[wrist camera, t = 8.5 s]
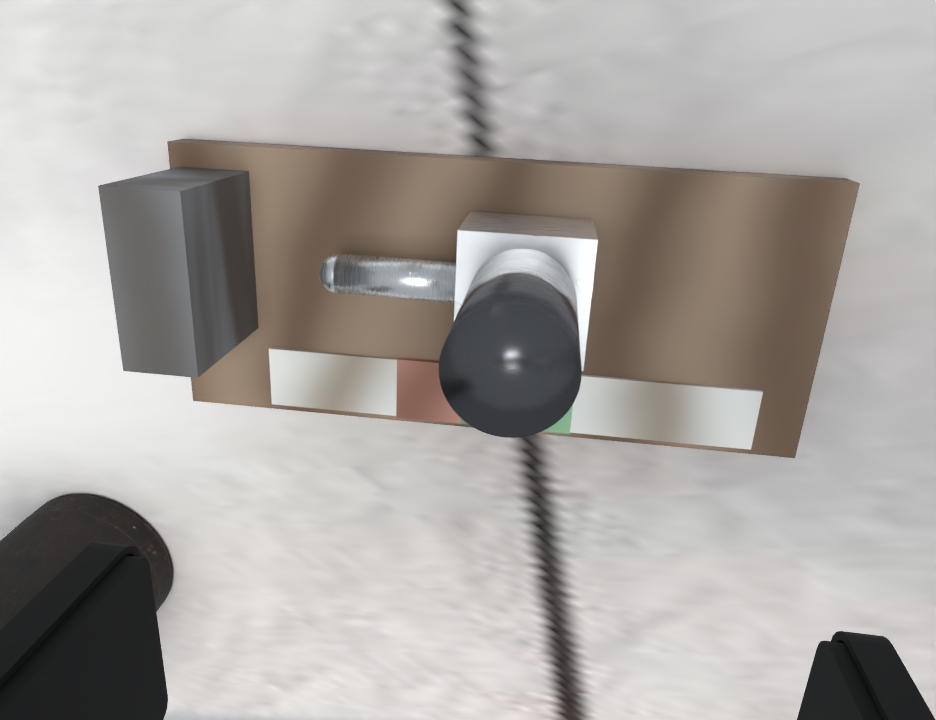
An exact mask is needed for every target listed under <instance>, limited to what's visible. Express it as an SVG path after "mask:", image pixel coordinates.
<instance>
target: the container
mask: <svg viewBox="0 0 936 720" xmlns="http://www.w3.org/2000/svg"><path fill="white" fill-rule="evenodd" d="M97 541H99V542H107V543H115V544H124V545H132V546H134V547H136V548H137V549H138V550H139V552H140V556H141V557H144V558H146V559H147V560H148V561H149V565H150V570H151V578H152V585H153V592H154V600H155V607H156V611H157V610H158V609H159V607H160V606H161V605H162V603H163V602H164V600H165V599H166V597H167V596H168V594H169V591H170V588H171V584H172V567H171V562H170V559H169V556H168V553H167V551H166V549H165V547H164V545H163V543H162V542H161V540H160V538H159V537H158V536H157V534H156V533H155V532H154V531H153V530H152V528H151V527H150V526H149V525H148V524H147V523H145V522H144V521H143V520H142V519H141V518H139V517H138V516H137V515H135V514H134V513H133V512H131V511H129V510H128V509H126V508H124V507H123V506H121V505H119V504H117V503H114V502H112V501H109V500H106V499H103V498H100V497H95V496H90V495H68V496H62V497H58V498H55V499H53V500H51V501H49V502H47V503H46V504H44V505H43V506H41V507H40V508H39V509H38V510H36V511H35V512H34V513H33V514H31V515H30V516H29V517H28V518H26V519H25V520H24V521H23V522H22V523H20V524H19V525H18V526H17V527H16V528H15V529H14V530H12V531H11V532H10V533H9V534H8V535H7V536H6V537H4V538H3V539H2V540H1V541H0V630H1V629H2V628H3V627H4V626H5V625H6V624H7V623H8V622H9V621H10V620H11V619H12V618H13V617H14V616H15V615H16V614H17V613H18V612H19V611H20V610H22V609H23V608H24V607H25V606H26V605H27V604H28V603H29V602H30V601H31V600H32V599H33V598H34V597H35V596H36V595H37V594H38V593H39V592H40V591H41V590H42V589H43V588H44V587H45V586H46V585H47V584H48V583H49V582H50V581H51V580H52V579H53V578H54V577H55V576H57V575H58V574H59V573H60V572H61V571H62V570H63V569H64V568H65V567H66V566H67V565H68V564H69V563H70V562H71V561H72V560H73V559H74V558H75V557H76V556H77V555H78V554H79V553H80V552H81V551H82V550H83V549H84V548H85V547H87V546H88V545H89V544H91V543H92V542H97Z"/></svg>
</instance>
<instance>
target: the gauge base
mask: <svg viewBox="0 0 936 720" xmlns="http://www.w3.org/2000/svg"><path fill="white" fill-rule="evenodd" d="M168 152H169V162H170V169H169V170H165V171H160V172H156V173H152V174H147V175H143V176H139V177H134V178H130V179H126V180H121V181H117V182H113V183H108V184H104V185H100V186H98V187H99V194H100V202H101V209H102V216H103V224H104V231H105V239H106V246H107V253H108V261H109V268H110V275H111V283H112V290H113V298H114V305H115V312H116V320H117V327H118V334H119V342H120V349H121V356H122V364H123V371H131V372H142V373H153V374H164V375H175V376H185V377H191V382H192V392H193V401H203V402H213V403H224V404H234V405H245V406H255V407H266V408H276V409H287V410H297V411H308V412H318V413H328V414H339V415H349V416H360V417H370V418H381V419H391V420H402V421H412V422H423V423H433V424H444V425H454V426H465V427H472V426H471V425H469V424H468V423H466V422H465V421H464V420H463V419H462V418H460V417H459V416H458V415H457V414H456V412H455V411H454V410H453V409H452V408H451V406H450V405H449V403H448V402H447V400H446V398H445V396H444V394H443V391H442V388H441V385H440V379H439V358H440V354H441V350H442V348H443V345H444V343H445V341H446V338H447V336H448V334H449V332H450V329H451V327H452V325H453V323H454V305H455V303H450V302H437V301H424V300H412V299H399V298H387V297H374V296H361V295H349V294H337V293H332V292H330V291H328V290H327V289H326V288H325V287H324V286H323V285H322V284H321V282H320V279H319V267H320V265H321V263H322V262H323V260H324V259H325V258H327V257H328V256H330V255H333V254H350V255H363V256H377V257H390V258H404V259H417V260H431V261H444V262H456V256H457V231H458V229H459V227H460V226H461V224H462V223H463V222H464V220H465V219H466V217H467V216H468V214H469V213H470V211H471V212H486V213H501V214H516V215H531V216H546V217H561V218H576V219H591V220H594V224H595V229H596V233H597V238H598V244H597V253H596V262H595V271H594V280H593V289H592V298H591V307H590V316H589V325H588V334H587V343H586V352H585V361H584V370H583V371H582V372H581V384H580V389H579V392H578V395H577V397H576V399H575V401H574V403H573V405H572V406H571V408H570V409H569V411H568V412H567V413H566V414H565V415H564V416H563V418H562V419H560V420H559V421H558V422H557V423H556V424H554V425H552V426H551V427H549V428H548V429H546V430H544V431H541V432H539V433H538V434H549V435H559V436H570V437H580V438H591V439H601V440H612V441H622V442H633V443H643V444H654V445H664V446H675V447H685V448H696V449H706V450H716V451H727V452H737V453H748V454H758V455H769V456H779V457H790V458H795V455H796V451H797V447H798V442H799V438H800V434H801V430H802V425H803V421H804V417H805V413H806V409H807V404H808V400H809V396H810V392H811V387H812V383H813V379H814V375H815V370H816V366H817V362H818V358H819V354H820V349H821V345H822V341H823V337H824V332H825V328H826V324H827V320H828V315H829V311H830V307H831V303H832V299H833V294H834V290H835V286H836V282H837V277H838V273H839V269H840V265H841V260H842V256H843V252H844V248H845V243H846V239H847V235H848V231H849V227H850V222H851V218H852V214H853V210H854V205H855V201H856V197H857V193H858V188H859V184H860V183H857V182H854V181H851V180H848V179H845V178H828V177H812V176H795V175H778V174H761V173H745V172H728V171H711V170H695V169H678V168H661V167H645V166H628V165H611V164H595V163H578V162H561V161H545V160H528V159H511V158H494V157H478V156H461V155H444V154H428V153H411V152H394V151H378V150H361V149H344V148H328V147H311V146H294V145H277V144H261V143H244V142H227V141H211V140H194V139H181V140H175V141H168Z"/></svg>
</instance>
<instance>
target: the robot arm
mask: <svg viewBox="0 0 936 720" xmlns="http://www.w3.org/2000/svg"><path fill="white" fill-rule="evenodd" d="M167 703H168V695H167V688H166V681H165V673H164V666H163V659H162V651H161V644H160V637H159V629H158V622H157V615H156V607H155V600H154V592H153V585H152V578H151V570H150V565H149V561H148V560H147V559H146V558H144V557H141V556H140V552H139V550H138V549H137V548H136V547H134V546H132V545H124V544H115V543H107V542H99V541H97V542H92V543H91V544H89V545H88V546H87V547H85V548H84V549H83V550H82V551H81V552H80V553H79V554H78V555H77V556H76V557H75V558H74V559H73V560H72V561H71V562H70V563H69V564H68V565H67V566H66V567H65V568H64V569H63V570H62V571H61V572H60V573H59V574H58V575H57V576H55V577H54V578H53V579H52V580H51V581H50V582H49V583H48V584H47V585H46V586H45V587H44V588H43V589H42V590H41V591H40V592H39V593H38V594H37V595H36V596H35V597H34V598H33V599H32V600H31V601H30V602H29V603H28V604H27V605H26V606H25V607H24V608H23V609H22V610H20V611H19V612H18V613H17V614H16V615H15V616H14V617H13V618H12V619H11V620H10V621H9V622H8V623H7V624H6V625H5V626H4V627H3V628H2V629H1V630H0V720H163V719H164V716H165V713H166V709H167ZM797 720H935V718H934V717H933V715H932V713H931V711H930V710H929V708H928V706H927V704H926V703H925V701H924V699H923V697H922V696H921V694H920V692H919V690H918V689H917V687H916V685H915V683H914V682H913V680H912V678H911V677H910V675H909V673H908V671H907V670H906V668H905V666H904V664H903V663H902V661H901V659H900V657H899V656H898V654H897V652H896V650H895V649H894V647H893V645H892V644H891V642H890V641H889V640H888V639H887V638H885V637H883V636H876V635H867V634H859V633H851V632H843V631H839V632H836V633H835V634H834V635H833V637H832V640H831V642H830V641H821V642H820V643H819V645H818V647H817V650H816V654H815V657H814V661H813V664H812V668H811V672H810V675H809V679H808V682H807V686H806V689H805V693H804V697H803V700H802V704H801V707H800V711H799V715H798V718H797Z"/></svg>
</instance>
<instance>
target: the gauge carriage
mask: <svg viewBox="0 0 936 720" xmlns="http://www.w3.org/2000/svg"><path fill="white" fill-rule="evenodd" d="M597 244H598V238H597V233H596V229H595V224H594V220H591V219H576V218H561V217H546V216H531V215H516V214H501V213H486V212H471V211H470V213H469V214H468V216H467V217H466V219H465V220H464V222H463V223H462V224H461V226H460V227H459V229H458V231H457V256H456V262H444V261H431V260H417V259H404V258H390V257H377V256H363V255H350V254H333V255H330V256H328V257H327V258H325V259H324V260H323V262H322V263H321V265H320V267H319V279H320V282H321V284H322V285H323V286H324V287H325V288H326V289H327V290H328V291H330V292H332V293H337V294H349V295H361V296H374V297H387V298H399V299H412V300H424V301H437V302H450V303H455V305H454V323H453V325H452V327H451V329H450V332H449V334H448V336H447V338H446V341H445V343H444V345H443V348H442V350H441V354H440V358H439V379H440V385H441V388H442V391H443V394H444V396H445V398H446V400H447V402H448V403H449V405H450V406H451V408H452V409H453V410H454V411H455V412H456V414H457V415H458V416H459V417H460V418H462V419H463V420H464V421H465V422H466V423H468V424H469V425H471V426H472V427H474V428H476V429H478V430H480V431H482V432H485V433H487V434H491V435H495V436H500V437H513V438H514V437H524V436H529V435H533V434H536V433H539V432H541V431H544V430H546V429H548V428H549V427H551V426H552V425H554V424H556V423H557V422H558V421H559V420H560V419H562V418H563V416H564V415H565V414H566V413H567V412H568V411H569V409H570V408H571V406H572V405H573V403H574V401H575V399H576V397H577V395H578V392H579V389H580V384H581V372H582V371H583V370H584V361H585V352H586V343H587V334H588V325H589V316H590V307H591V298H592V289H593V280H594V271H595V262H596V253H597Z"/></svg>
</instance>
